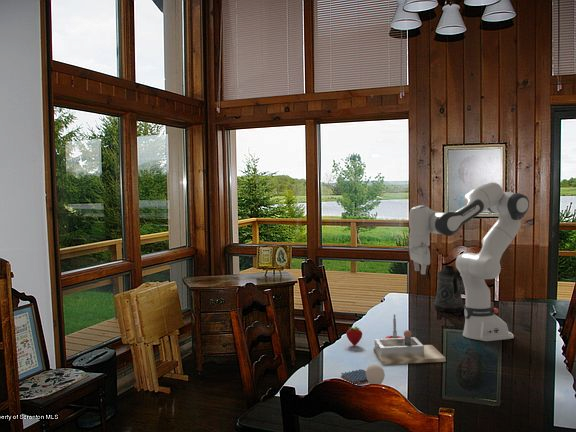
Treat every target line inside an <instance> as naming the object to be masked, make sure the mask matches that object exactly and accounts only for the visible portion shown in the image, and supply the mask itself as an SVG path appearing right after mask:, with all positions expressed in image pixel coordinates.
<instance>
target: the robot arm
mask: <svg viewBox="0 0 576 432" xmlns="http://www.w3.org/2000/svg"><path fill="white" fill-rule="evenodd" d="M462 203H463V207H461V208H459V209H458V210H456V211H455V212H454V211H453V212H439V211H436V210H433V209H431V208H429V207H428V206H427V205H425V204H421V205H417V206H413V207H412V208H410V210H409V215H408V227H409V235H408V236H409V238H408V239H407V244H408V250H409V251H408V253H409V257H410V261H413V266H414V271H415V272H420V274H421V275H426V272H427V266H430V264H431V252H430V248H429V246H430V245H431V242H430V234H431V233H432V234H436V235H437V234H438V235H444V236H447V237H451V236H454V235H455V234H457V232H458V231H460V229H461V227H462V226H464V225H465V224H466V223H468V222H469V221H471V220H472V219H474V218H475V217H477V216H478V215H480V214H482V213H483V212H484V211H486V210H487V211H488V212H490V213H493V214H495V215H496V214H497V215H498V216H497V217H498V218H497V220H496V221H495V223H493V225H492V226H491V227H490V229H489V230H488V231H487V233H486V234H485V235H484V237H483V238H482V239H481V244H482V247H481V249H480V251H479V252H478V253H476V252H475V253H473V252H464V253H461V254H459V255H458V256H457V257H456V259H455V268H456V270H458V271H459V272H460V276H461V277H462V280H463V283H464V287H465V289H464V292H465V293H464V294H465V295H464V296H465V304H464V319H465V320H464V321H465V322H464V326H463V331H462V332H463V333H462V336H463V337H465V338H467V339H471V340H477V341H483V342H493V341H494V342H495V341H502V340H510V339H514V337H515V336H514V333H512V332H511V331H509V328H508V323H506V322H505V321H504V320H503V319H502V318H500V317H499V316H498V315H496V314H498V313H499V309H498V308H497V307H493V306H492V305H491V289H490V287H489V286H488V285H487V283H486V281H485V280H494V279H496V278H497V277H498V276H499V275H500V273H501V270H502V268H501V258H502V256H503V254H504V252H505V251H506V250H507V248H508V246H510V244H511V243H512V241H513V240H514V239H515V238H516V236H517V234H518V232H519V230H520V228H521V224H522V222H521V219H523V218H524V217H525V215H526V214H527V212H528V210H529V208H530V199H529V198H528V197H527V195H525V194H522V193H519V192H512V191H504V190H503V188H502V186H501V185H500V184H499V183H497V182H493V181H492V182H487V183H483V184H482V185H480V186H476V187H475V188H473V189H471V190H470V191H468V192H467V193H466V194H465V195H464V196H463V202H462ZM420 267H421V269H420Z"/></svg>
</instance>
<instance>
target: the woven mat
mask: <svg viewBox="0 0 576 432" xmlns="http://www.w3.org/2000/svg"><path fill="white" fill-rule="evenodd" d="M340 374H341V375H340V377H341V378H343V379H344V380H346V379H347V380H346V381H347V382H349V381H350V382H349V383H351V382H352V383H354V384H358V385H363V384H366V382H367V383H369V382H368V380H367V378H366V370H365V369H361V368H359V369H358V370H357V369H355V370H352V371H350V370H349V371H347V372H346V371H345V372H341V373H340ZM352 383H351V384H352ZM362 383H363V384H362ZM354 384H353V385H354Z"/></svg>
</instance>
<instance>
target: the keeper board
mask: <svg viewBox="0 0 576 432" xmlns="http://www.w3.org/2000/svg"><path fill="white" fill-rule="evenodd" d="M403 336H404V338H405V346H409V345H411V337H412V332H411V330H409V329H406V330H404V332H403ZM422 345H423V346H424V356H403V357H380V355H379V354H378V352H377V350H376V349H375V346H374V347H373V352H374V354H375V356H376V357H377V359H378V358H379V359H378V360H379V362H380V361H381V362H380V363H381V365H384V366H385V365H398V364H399V365H402V364H404V363H406V364H424V363H425V364H426V363H445V362H447V361H446V359H447V358H446V356H444V355H443V354H442V353H441V352H440V351H439V350H438V349H437V348H436V347H435V346H434V345H432V344H422Z"/></svg>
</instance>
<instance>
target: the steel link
mask: <svg viewBox="0 0 576 432" xmlns="http://www.w3.org/2000/svg"><path fill="white" fill-rule="evenodd" d="M423 345H424V344H423V343H422V342H421V341H420V340H419V339H418V338H417V337H416V336H413V337H412V336H411V345H409V346H405V337H403V338H374V347H375V349H376V350H377V352H378V354H379V355H380V357H403V356H424V346H423Z"/></svg>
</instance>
